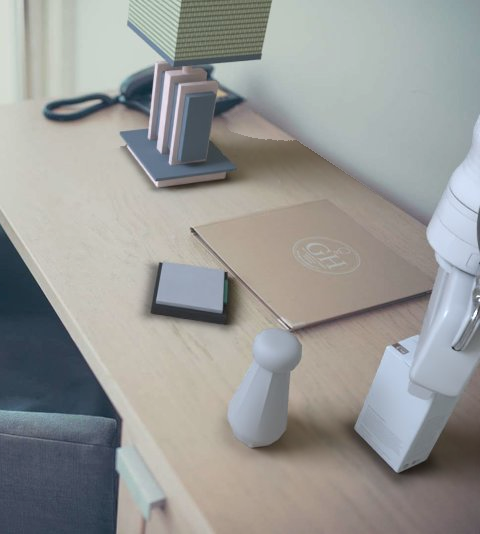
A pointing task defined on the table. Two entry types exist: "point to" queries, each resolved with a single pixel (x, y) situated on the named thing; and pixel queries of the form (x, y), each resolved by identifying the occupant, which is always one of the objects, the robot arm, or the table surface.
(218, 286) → the scale
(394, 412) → the cosmetic box
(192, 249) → the table surface
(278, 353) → the salt shaker
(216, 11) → the desk lamp
